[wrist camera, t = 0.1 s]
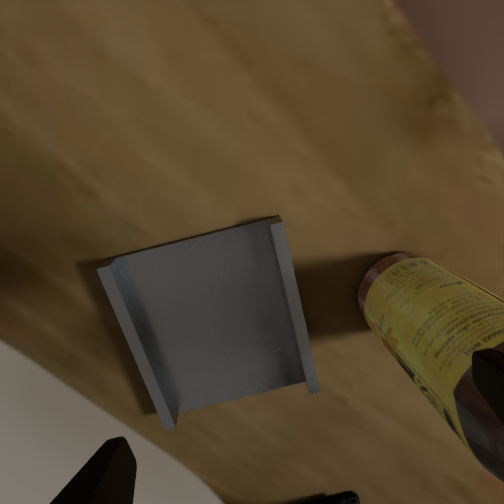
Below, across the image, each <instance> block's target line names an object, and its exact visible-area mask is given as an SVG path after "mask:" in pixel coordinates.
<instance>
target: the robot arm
mask: <svg viewBox="0 0 504 504" xmlns="http://www.w3.org/2000/svg"><path fill="white" fill-rule="evenodd" d="M472 378H473V382H474V384H475V386H476V388H477V389H478V391H479V392H480V394H481V395H482V396H483V398H484V399H485V401H486V402H487V403H488V405H489V406H490V408H491V409H492V410H493V412H494V413H495V415H496V416H497V418H498V419H499V420H500V422H501V423H502V425H503V426H504V352H501V351H499V350H496V349H493V348H485V349H480V350H476V351H474V352H473V353H472ZM136 470H137V465H136V459H135V457H134V454H133V452H132V450H131V448H130V446H129V444H128V442H127V440H126V439H125V438H124V437H116V438H112V439H109V440H107V441H106V442H105V443H104V444H103V445H102V446H101V447H100V448H99V449H98V451H97V452H96V453H95V454H94V455H93V456H92V457H91V458H90V459H89V460H88V462H87V463H86V464H85V465H84V466H83V467H82V468H81V470H79V472H78V473H77V474H76V475H75V476H74V477H73V478H72V479H71V481H70V482H69V483H68V484H67V485H66V486H65V487H64V488H63V489H62V491H61V492H60V493H59V494H58V495H57V496H56V497H55V498H54V499H53V501H52V502H51V503H50V504H133V497H134V488H135V479H136ZM308 504H360V501H359V498H358V495H357V494H356V493H349V494H345V495H341V496H337V497H332V498H328V499H324V500H320V501H316V502H312V503H308Z"/></svg>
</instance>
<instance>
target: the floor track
mask: <svg viewBox="0 0 504 504" xmlns="http://www.w3.org/2000/svg"><path fill="white" fill-rule="evenodd" d="M96 270H97V272H98V275H99V277H100V279H101V282H102V284H103V286H104V289H105V291H106V293H107V296H108V298H109V300H110V303H111V305H112V307H113V310H114V312H115V314H116V317H117V319H118V321H119V324H120V326H121V328H122V331H123V333H124V335H125V338H126V340H127V342H128V345H129V347H130V349H131V352H132V354H133V356H134V359H135V361H136V363H137V366H138V368H139V370H140V373H141V375H142V377H143V380H144V382H145V384H146V387H147V389H148V391H149V394H150V396H151V398H152V401H153V403H154V406H155V408H156V410H157V413H158V415H159V417H160V420H161V422H162V424H163V427H164V429H165V430H168V429H172V428H176V423H177V418H178V413H180V412H184V411H188V410H192V409H196V408H200V407H204V406H208V405H212V404H216V403H220V402H224V401H228V400H232V399H236V398H240V397H245V396H249V395H253V394H257V393H261V392H265V391H269V390H273V389H277V388H281V387H285V386H289V385H293V384H297V383H301V382H306V385H307V388H308V391H309V394H314V393H318V392H320V388H319V383H318V378H317V374H316V369H315V365H314V360H313V356H312V351H311V346H310V342H309V337H308V333H307V328H306V323H305V319H304V314H303V310H302V305H301V300H300V296H299V291H298V287H297V282H296V278H295V273H294V268H293V264H292V259H291V255H290V250H289V245H288V241H287V236H286V232H285V227H284V222H283V220H282V219H281V217H280V216H279V215H278V216H274V217H270V218H266V219H262V220H258V221H254V222H250V223H246V224H242V225H238V226H234V227H230V228H226V229H222V230H219V231H215V232H211V233H207V234H203V235H199V236H195V237H191V238H187V239H183V240H179V241H175V242H171V243H167V244H163V245H159V246H156V247H152V248H148V249H144V250H140V251H136V252H132V253H128V254H124V255H120V256H116V257H112V258H108V259H106V260H105V261H104V262H103V263H102V264H101V265H100V266H99V267H98V268H97V269H96Z"/></svg>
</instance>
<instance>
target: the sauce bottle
mask: <svg viewBox="0 0 504 504" xmlns="http://www.w3.org/2000/svg"><path fill="white" fill-rule="evenodd" d="M358 303H359V307H360V311H361V313H362V314H363V316H364V317H365V319H366V321H367V323H368V325H369V327H370V328H371V330H372V331H373V332H374V333H375V334H376V336H377V337H378V338H379V339H380V341H381V342H382V343H383V344H384V346H385V347H386V348H387V349H388V350H389V352H390V353H391V354H392V355H393V357H394V358H395V359H396V360H397V362H398V363H399V364H400V365H401V367H402V368H403V369H404V370H405V372H406V373H407V374H408V375H409V377H410V378H411V379H412V380H413V381H414V382H415V384H416V385H417V386H418V388H419V389H420V391H421V392H422V393H423V394H424V395H425V396H426V398H427V399H428V400H429V401H430V403H431V404H432V405H433V406H434V407H435V408H436V409H437V411H438V412H439V413H440V415H441V416H442V417H443V418H444V419H445V420H446V422H447V423H448V424H449V426H450V427H451V429H452V430H453V431H454V432H455V433H456V434H457V435H458V437H459V438H460V439H461V440H462V442H463V443H464V444H465V446H466V447H467V448H468V449H469V450H470V451H471V452H472V454H473V455H474V456H475V457H476V459H477V460H478V461H479V462H480V463H481V465H482V466H483V467H484V468H485V469H487V470H488V471H489V472H490V473H492V474H493V475H494V476H496V477H497V478H498V479H500V480H501V481H503V482H504V426H503V425H502V423H501V422H500V420H499V419H498V418H497V416H496V415H495V413H494V412H493V410H492V409H491V408H490V406H489V405H488V403H487V402H486V401H485V399H484V398H483V396H482V395H481V394H480V392H479V391H478V389H477V388H476V386H475V384H474V382H473V378H472V353H473V352H474V351H476V350H480V349H485V348H493V349H496V350H499V351H501V352H504V299H502V298H500V297H498V296H496V295H495V294H493V293H491V292H489V291H488V290H486V289H484V288H482V287H481V286H479V285H477V284H475V283H474V282H472V281H470V280H468V279H466V278H465V277H463V276H461V275H459V274H457V273H456V272H454V271H452V270H450V269H449V268H447V267H445V266H443V265H442V264H440V263H438V262H436V261H435V260H429V259H427V258H425V257H423V256H422V255H420V254H417V253H408V252H403V253H397V254H394V255H391V256H387V257H384V258H383V259H381V260H379V261H378V262H377V263H375V264H374V265H372V266H371V267H370V268H369V270H368V271H367V272H366V274H365V275H364V276H363V279H362V281H361V283H360V286H359V290H358Z"/></svg>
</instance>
